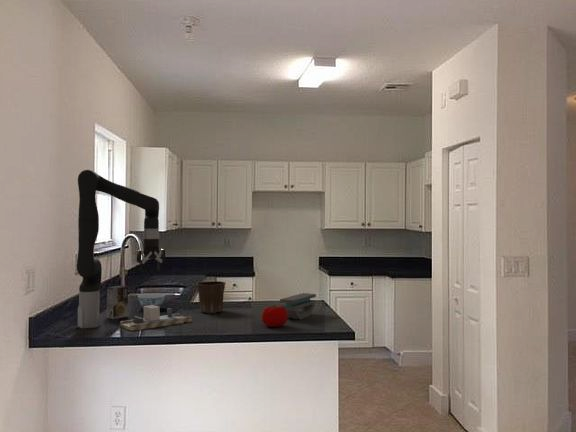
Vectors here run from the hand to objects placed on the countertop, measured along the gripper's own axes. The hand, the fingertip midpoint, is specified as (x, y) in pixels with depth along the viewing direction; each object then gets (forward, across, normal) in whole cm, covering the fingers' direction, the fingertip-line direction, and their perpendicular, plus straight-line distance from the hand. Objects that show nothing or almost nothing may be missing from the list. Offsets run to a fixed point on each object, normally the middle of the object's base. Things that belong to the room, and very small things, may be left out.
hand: (151, 270), depth 257 cm
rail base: (+26, +2, -1) cm, 27 cm away
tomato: (+26, +43, -44) cm, 66 cm away
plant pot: (+26, +42, +10) cm, 50 cm away
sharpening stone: (+26, +68, -34) cm, 80 cm away
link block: (+23, 0, -1) cm, 23 cm away
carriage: (+25, +3, -1) cm, 25 cm away
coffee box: (+27, -5, +29) cm, 40 cm away
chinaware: (+27, +20, +40) cm, 52 cm away
